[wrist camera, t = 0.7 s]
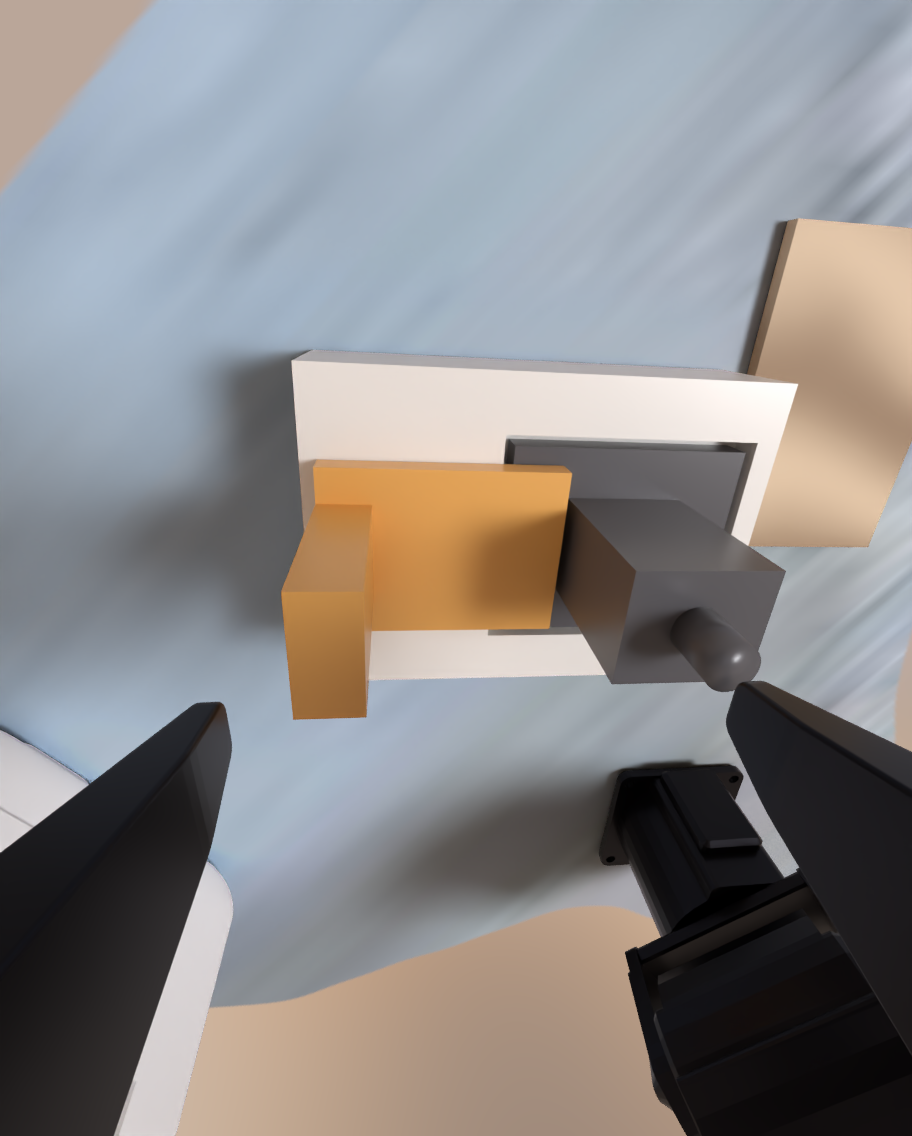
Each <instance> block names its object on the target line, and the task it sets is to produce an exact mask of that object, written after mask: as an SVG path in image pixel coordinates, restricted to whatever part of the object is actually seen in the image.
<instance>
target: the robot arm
mask: <svg viewBox="0 0 912 1136" xmlns="http://www.w3.org/2000/svg"><path fill="white" fill-rule="evenodd" d="M726 726H727V730H728V733H729V735H730V737H731V740H732V742H733V744H734V746H735V748H736V750H737V752H738V754H739V756H740V758H741V761H742V763H743V765H744V767H745V769H746V771H747V773H748V775H749V777H750V779H751V782H752V784H753V786H754V788H755V790H756V792H757V794H758V796H759V798H760V800H761V802H762V804H763V806H764V808H765V810H766V812H767V814H768V815H769V817H770V819H771V821H772V822H773V824H774V826H775V828H776V829H777V831H778V833H779V834H780V836H781V838H782V839H783V841H784V843H785V844H786V846H787V848H788V849H789V851H790V853H791V854H792V856H793V858H794V859H795V861H796V863H797V864H798V866H799V868H798V869H796V871H797V872H795V873H793V874H791V875H789V876H787V877H785V878H784V876H783V875H782V873H781V872H780V871H779V869H778V868H777V866H776V865H775V863H774V862H773V860H772V859H771V858H770V856H769V855H768V853H767V852H766V850H765V849H764V847H763V846H762V845H761V844H762V842H763V841H762V839H761V837H760V836H759V834H758V833H757V832H756V830H755V829H754V827H753V826H752V824H751V823H750V822H749V820H748V819H747V817H746V816H745V814H744V813H743V812H742V810H741V809H740V807H739V806H738V804H737V803H736V802H735V799H736V796H737V794H738V791H739V788H740V786H741V783H742V780H743V774H742V773H741V771H740V770H739V769H738V768H737V767H736V766H720V767H698V768H676V769H654V770H632V771H625V772H623V773H621V774H620V775H619V776H618V778H617V782H616V786H615V790H614V794H613V799H612V803H611V807H610V811H609V815H608V819H607V823H606V827H605V831H604V835H603V839H602V843H601V847H600V852H599V856H600V859H601V862H602V863H603V864H604V865H624V864H630V866H631V868H632V871H633V873H634V875H635V878H636V880H637V882H638V885H639V887H640V889H641V892H642V894H643V896H644V899H645V901H646V903H647V906H648V908H649V910H650V913H651V915H652V917H653V920H654V922H655V924H656V926H657V929H658V931H659V934H660V936H661V938H658V939H657V940H654V941H652V942H650V943H648V944H646V945H644V946H642V947H640V948H637V947H634V948H632V949H630V950H628V951H626V952H625V955H626V959H627V963H628V966H629V970H630V972H629V973H628V976H629V980H630V984H631V988H632V992H633V996H634V1000H635V1004H636V1007H637V1012H638V1015H639V1019H640V1023H641V1027H642V1031H643V1035H644V1039H645V1043H646V1047H647V1050H648V1055H649V1060H650V1068H651V1076H652V1083H653V1087H654V1090H655V1093H656V1095H657V1097H658V1099H659V1101H660V1102H661V1103H662V1104H664V1105H665V1106H667V1107H668V1108H670V1109H671V1110H673V1112H674V1114H675V1115H676V1117H677V1119H678V1121H679V1123H680V1124H681V1126H682V1128H683V1130H684V1132H685V1133H686V1135H687V1136H912V752H911V751H909V750H907V749H904V748H902V747H900V746H898V745H896V744H894V743H892V742H890V741H888V740H886V739H884V738H882V737H880V736H877V735H875V734H873V733H871V732H869V731H867V730H865V729H863V728H861V727H859V726H857V725H854V724H852V723H850V722H848V721H846V720H844V719H842V718H840V717H838V716H836V715H834V714H832V713H829V712H827V711H825V710H823V709H821V708H819V707H817V706H815V705H813V704H811V703H809V702H806V701H804V700H802V699H800V698H798V697H796V696H794V695H792V694H790V693H788V692H786V691H783V690H781V689H779V688H777V687H775V686H773V685H771V684H769V683H767V682H764V681H746V682H741V683H739V684H738V685H737V686H736V689H735V692H734V695H733V698H732V701H731V704H730V707H729V711H728V714H727V718H726ZM231 752H232V741H231V735H230V730H229V724H228V719H227V714H226V709H225V707H224V705H223V704H222V703H221V702H202V703H196V704H194V705H192V706H191V707H189V708H188V709H187V710H186V711H184V712H183V713H182V714H180V715H179V716H178V717H176V718H175V719H174V720H173V721H171V722H170V723H169V724H167V725H166V726H165V727H163V728H162V729H161V730H159V731H158V732H157V733H156V734H154V735H153V736H152V737H150V738H149V739H148V740H146V741H145V742H144V743H143V744H141V745H140V746H139V747H137V748H136V749H135V750H133V751H132V752H131V753H129V754H128V755H127V756H126V757H124V758H123V759H122V760H120V761H119V762H118V763H116V764H115V765H114V766H113V767H111V768H110V769H109V770H107V771H106V772H105V773H103V774H102V775H101V776H99V777H98V778H97V779H96V780H94V781H93V782H92V783H90V784H89V785H88V786H86V787H85V788H84V789H83V790H81V791H80V792H79V793H77V794H76V795H75V796H73V797H72V798H71V799H69V800H68V801H67V802H66V803H64V804H63V805H62V806H60V807H59V808H58V809H56V810H55V811H54V812H52V813H51V814H50V815H49V816H47V817H46V818H45V819H43V820H42V821H41V822H39V823H38V824H37V825H36V826H34V827H33V828H32V829H30V830H29V831H28V832H26V833H25V834H24V835H22V836H21V837H20V838H19V839H17V840H16V841H15V842H13V843H12V844H11V845H9V846H8V847H7V848H6V849H4V850H3V851H2V852H0V1136H114V1134H115V1131H116V1128H117V1125H118V1122H119V1119H120V1116H121V1113H122V1110H123V1107H124V1104H125V1101H126V1098H127V1096H128V1093H129V1090H130V1087H131V1084H132V1081H133V1078H134V1075H135V1072H136V1069H137V1066H138V1063H139V1060H140V1057H141V1054H142V1051H143V1048H144V1045H145V1042H146V1039H147V1036H148V1033H149V1031H150V1028H151V1025H152V1022H153V1019H154V1016H155V1013H156V1010H157V1007H158V1004H159V1001H160V998H161V995H162V992H163V989H164V986H165V983H166V980H167V977H168V974H169V971H170V968H171V965H172V963H173V960H174V957H175V954H176V951H177V948H178V945H179V942H180V939H181V936H182V933H183V930H184V927H185V924H186V921H187V918H188V915H189V912H190V909H191V906H192V903H193V900H194V897H195V895H196V892H197V889H198V886H199V883H200V880H201V877H202V874H203V871H204V868H205V865H206V862H207V859H208V855H209V852H210V849H211V845H212V841H213V837H214V832H215V828H216V823H217V819H218V814H219V809H220V805H221V800H222V796H223V791H224V786H225V782H226V777H227V773H228V768H229V763H230V759H231Z"/></svg>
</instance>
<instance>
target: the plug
mask: <svg viewBox="0 0 912 1136" xmlns="http://www.w3.org/2000/svg"><path fill="white" fill-rule="evenodd" d="M745 454H746V453H745V452H743V451H740V450H738V449H735V448H733V447H730V446H728V445H704V444H671V443H639V442H606V441H574V440H542V439H509V441H508V451H507V462H506V464H516V465H556V466H565V467H566V468H567V469H568V470H569V471H570V472H571V473H572V478H571V485H570V492H569V499H568V505H567V512H566V519H565V526H564V532H563V539H562V546H561V553H560V559H559V566H558V573H557V580H556V586H555V593H554V600H553V607H552V613H551V620H550V627H578V628H579V629H580V631H581V633H582V634H583V636H584V638H585V639H586V641H587V643H588V645H589V646H590V648H591V650H592V651H593V653H594V655H595V657H596V658H597V660H598V662H599V663H600V665H601V667H602V668H603V670H604V672H605V674H606V675H607V677H608V679H609V680H610V682H611V684H637V683H676V682H706V684H707V685H708V686H709V687H710V688H712V689H713V690H716V691H720V692H729V691H733V690H735V689H736V686H737V685H738V684H739V683H741V682H746V681H751V680H752V679H753V678H754V677H755V675H756V674H757V672H758V670H759V668H760V664H761V657H760V654H759V652H758V650H759V647H760V644H761V641H762V638H763V635H764V633H765V630H766V627H767V624H768V621H769V618H770V615H771V613H772V610H773V607H774V604H775V601H776V598H777V595H778V592H779V590H780V587H781V584H782V581H783V578H784V575H785V572H786V571H785V570H783V569H782V568H780V567H779V566H777V565H776V564H774V563H773V562H771V561H770V560H768V559H767V558H765V557H764V556H762V555H761V554H759V553H758V552H756V551H755V550H753V549H752V548H750V547H749V546H747V545H746V544H744V543H743V542H741V541H740V540H738V539H737V538H735V537H734V536H732V535H731V534H729V533H728V532H726V531H725V530H724V528H725V524H726V521H727V517H728V514H729V510H730V507H731V503H732V500H733V496H734V492H735V489H736V485H737V482H738V478H739V475H740V471H741V468H742V464H743V461H744V457H745Z"/></svg>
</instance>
